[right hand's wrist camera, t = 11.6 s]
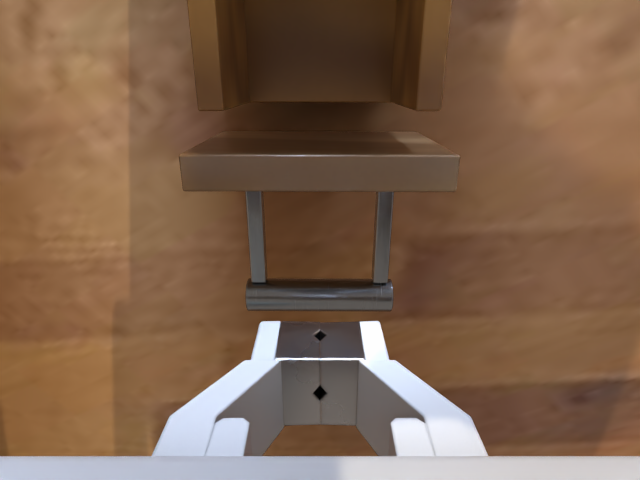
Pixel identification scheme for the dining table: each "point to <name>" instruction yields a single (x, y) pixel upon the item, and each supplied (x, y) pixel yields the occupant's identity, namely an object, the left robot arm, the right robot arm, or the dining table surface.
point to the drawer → (319, 146)
